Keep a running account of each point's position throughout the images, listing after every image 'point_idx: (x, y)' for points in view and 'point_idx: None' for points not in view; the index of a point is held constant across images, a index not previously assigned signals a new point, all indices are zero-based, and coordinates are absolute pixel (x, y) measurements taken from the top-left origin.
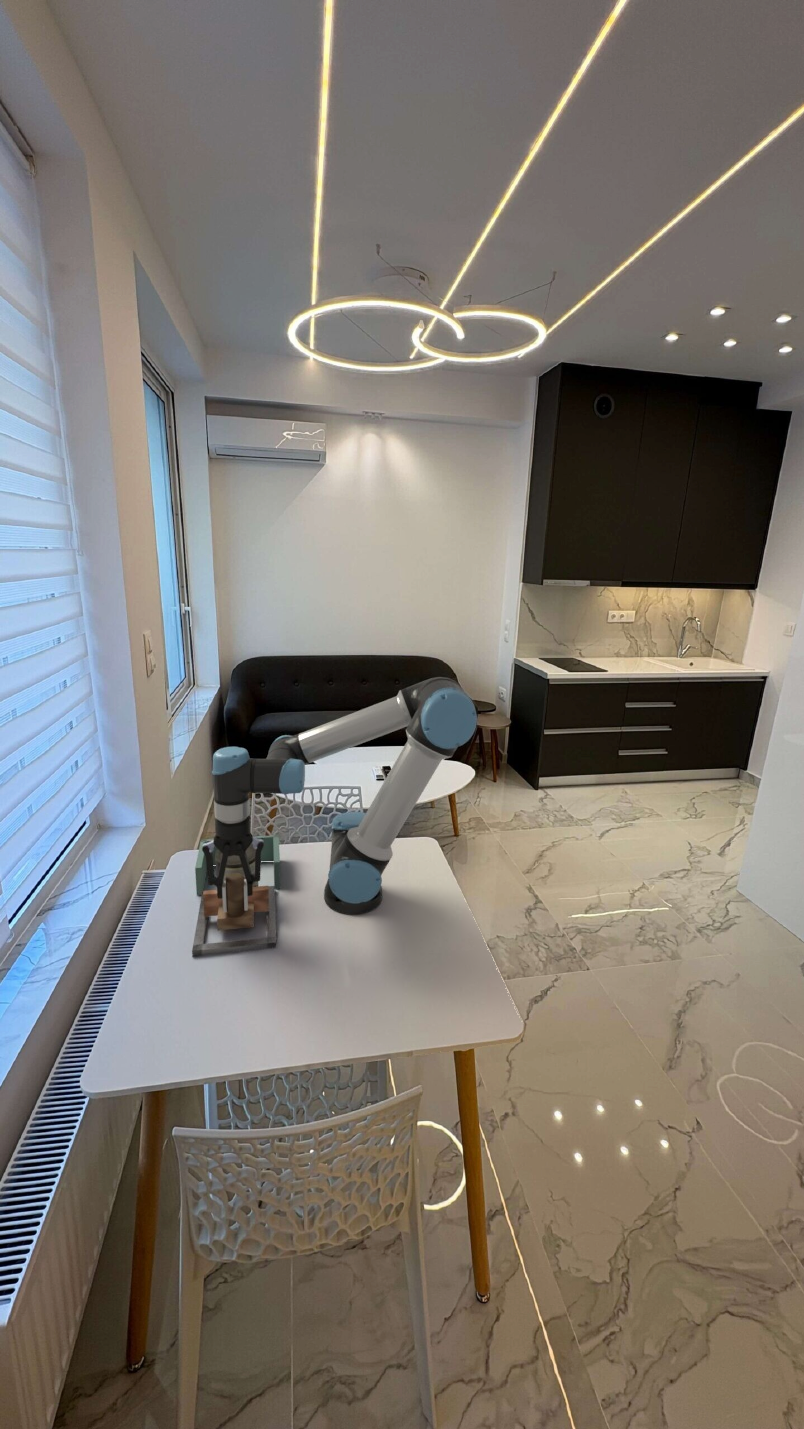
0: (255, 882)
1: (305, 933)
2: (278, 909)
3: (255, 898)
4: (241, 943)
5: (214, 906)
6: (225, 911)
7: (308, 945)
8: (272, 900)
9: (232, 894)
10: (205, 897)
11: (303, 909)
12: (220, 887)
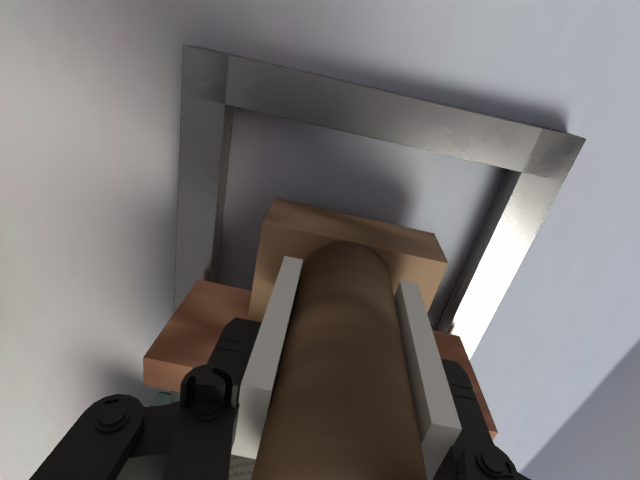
0: None
1: (61, 106)
2: (171, 296)
3: None
4: (351, 105)
5: None
6: (406, 284)
7: (43, 5)
8: None
9: (375, 346)
10: None
11: (75, 263)
12: (465, 438)
